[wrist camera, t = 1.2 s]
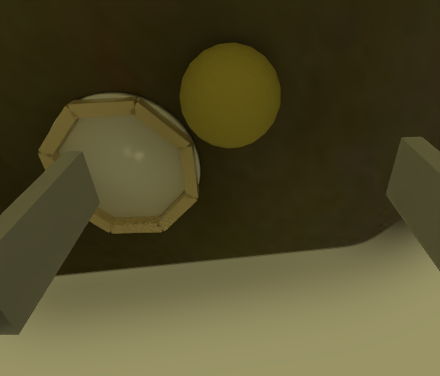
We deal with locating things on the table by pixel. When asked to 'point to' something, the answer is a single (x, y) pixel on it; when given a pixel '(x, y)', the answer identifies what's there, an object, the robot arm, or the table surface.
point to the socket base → (129, 159)
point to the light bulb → (230, 95)
